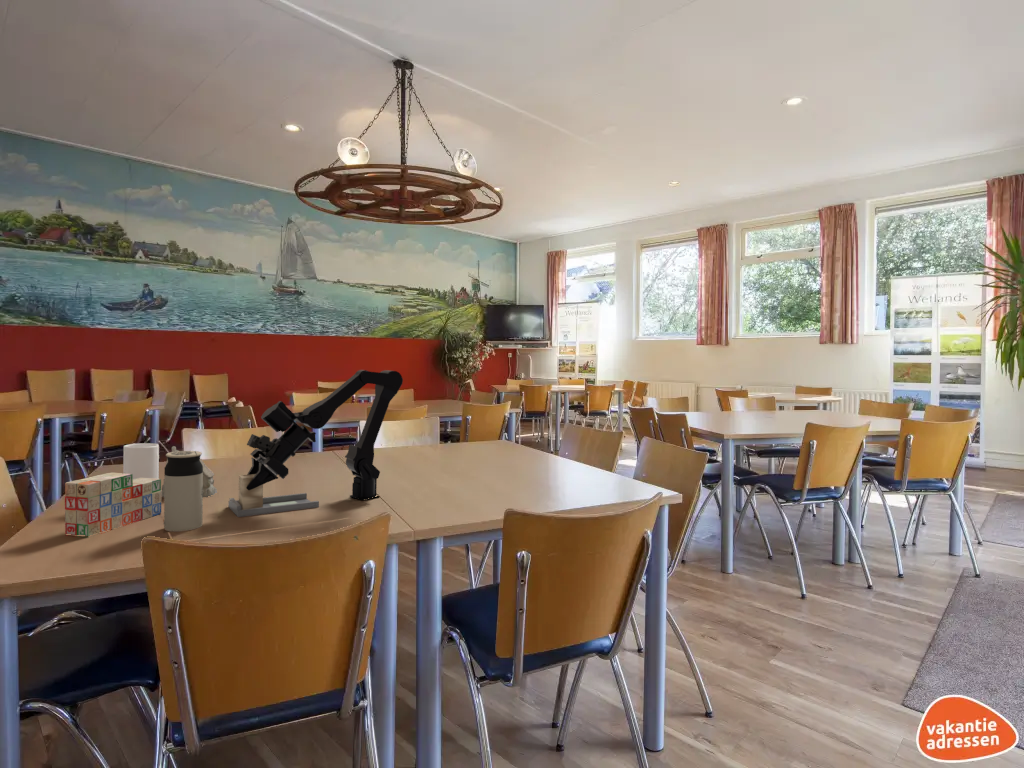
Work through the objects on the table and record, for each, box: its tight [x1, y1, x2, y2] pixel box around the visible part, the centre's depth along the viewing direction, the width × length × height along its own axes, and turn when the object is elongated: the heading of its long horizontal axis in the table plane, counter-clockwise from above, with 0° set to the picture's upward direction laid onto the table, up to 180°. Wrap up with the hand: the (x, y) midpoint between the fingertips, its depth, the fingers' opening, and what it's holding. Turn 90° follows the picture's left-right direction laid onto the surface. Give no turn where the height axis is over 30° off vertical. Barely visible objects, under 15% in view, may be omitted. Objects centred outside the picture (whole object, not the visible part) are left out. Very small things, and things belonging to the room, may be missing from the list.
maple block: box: [238, 474, 264, 510], centre depth 157 cm, size 5×5×9 cm
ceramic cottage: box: [161, 445, 218, 498], centre depth 176 cm, size 16×16×15 cm
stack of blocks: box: [64, 472, 163, 536], centre depth 142 cm, size 21×6×12 cm, turn 169°
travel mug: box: [163, 450, 204, 532], centre depth 140 cm, size 8×8×18 cm
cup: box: [122, 442, 160, 479], centre depth 162 cm, size 8×8×16 cm
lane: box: [228, 492, 320, 518], centre depth 160 cm, size 21×12×3 cm, turn 126°
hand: (245, 487), depth 156 cm, fingers closed on maple block, 5 cm apart
